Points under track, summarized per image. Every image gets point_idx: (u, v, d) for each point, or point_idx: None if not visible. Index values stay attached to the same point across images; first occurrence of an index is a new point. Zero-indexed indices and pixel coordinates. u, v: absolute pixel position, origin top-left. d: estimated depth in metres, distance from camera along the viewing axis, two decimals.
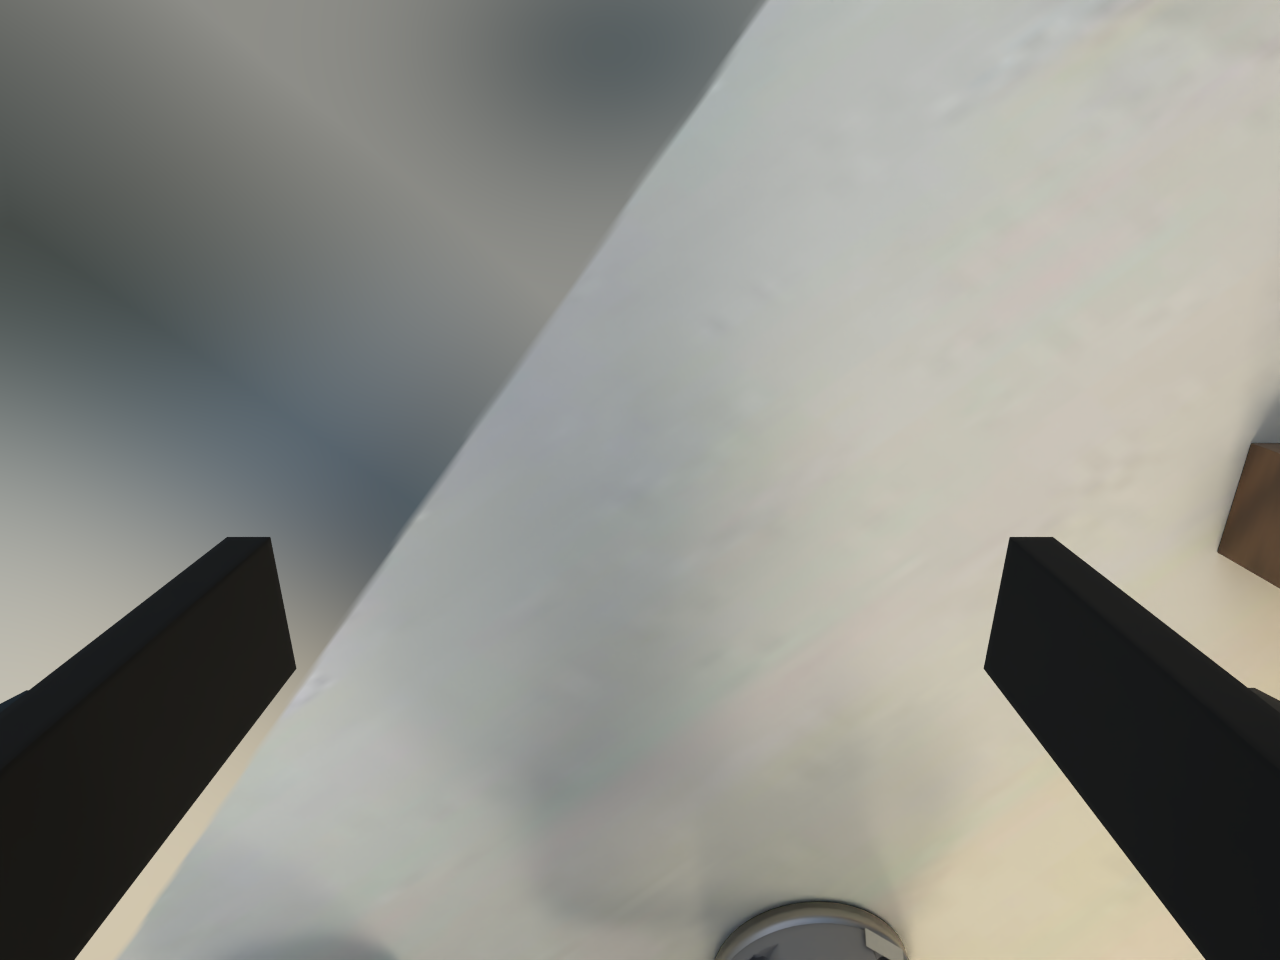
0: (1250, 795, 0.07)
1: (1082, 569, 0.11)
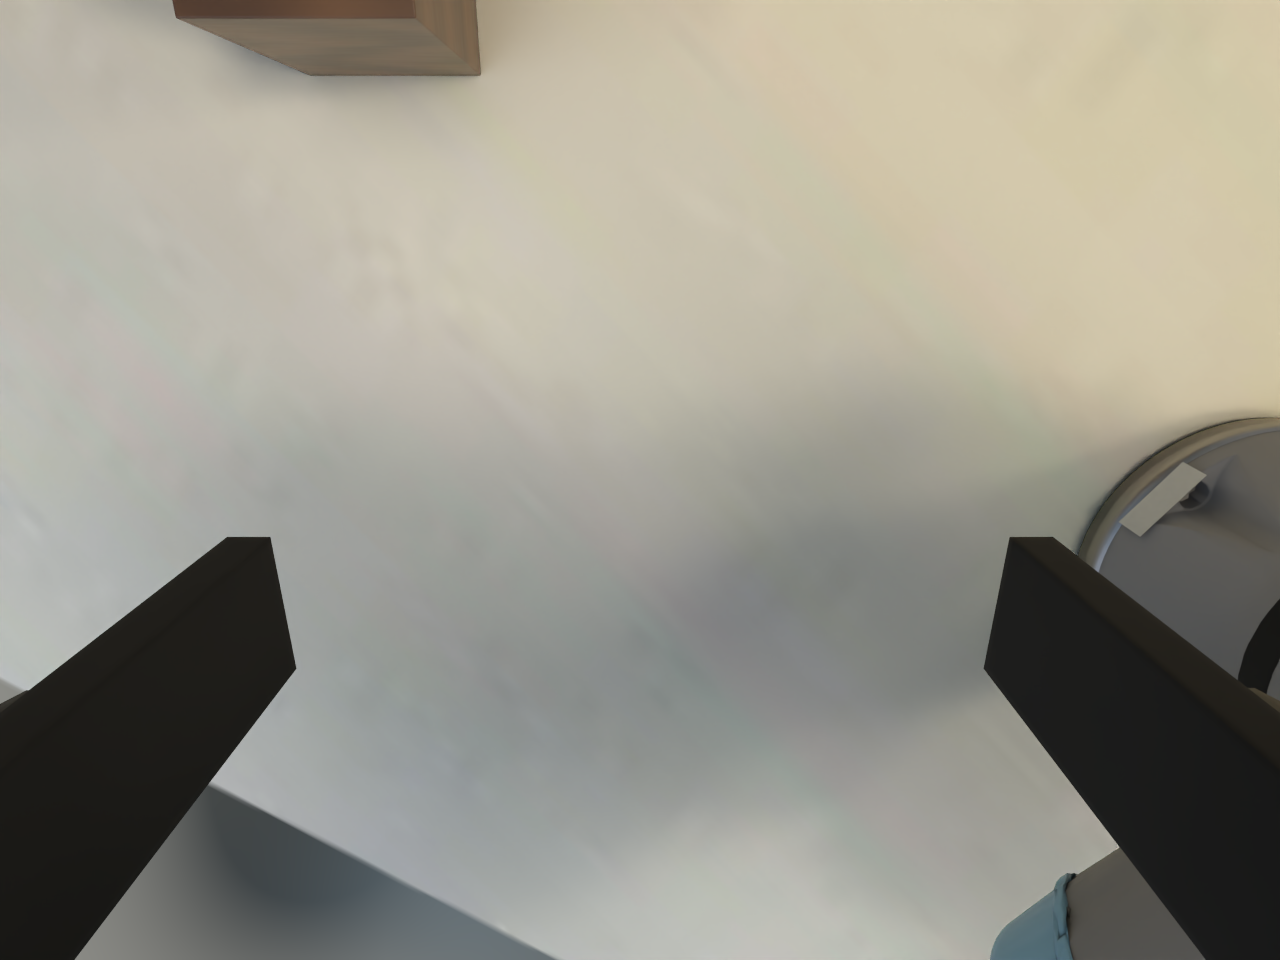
0: (1250, 795, 0.07)
1: (1081, 569, 0.11)
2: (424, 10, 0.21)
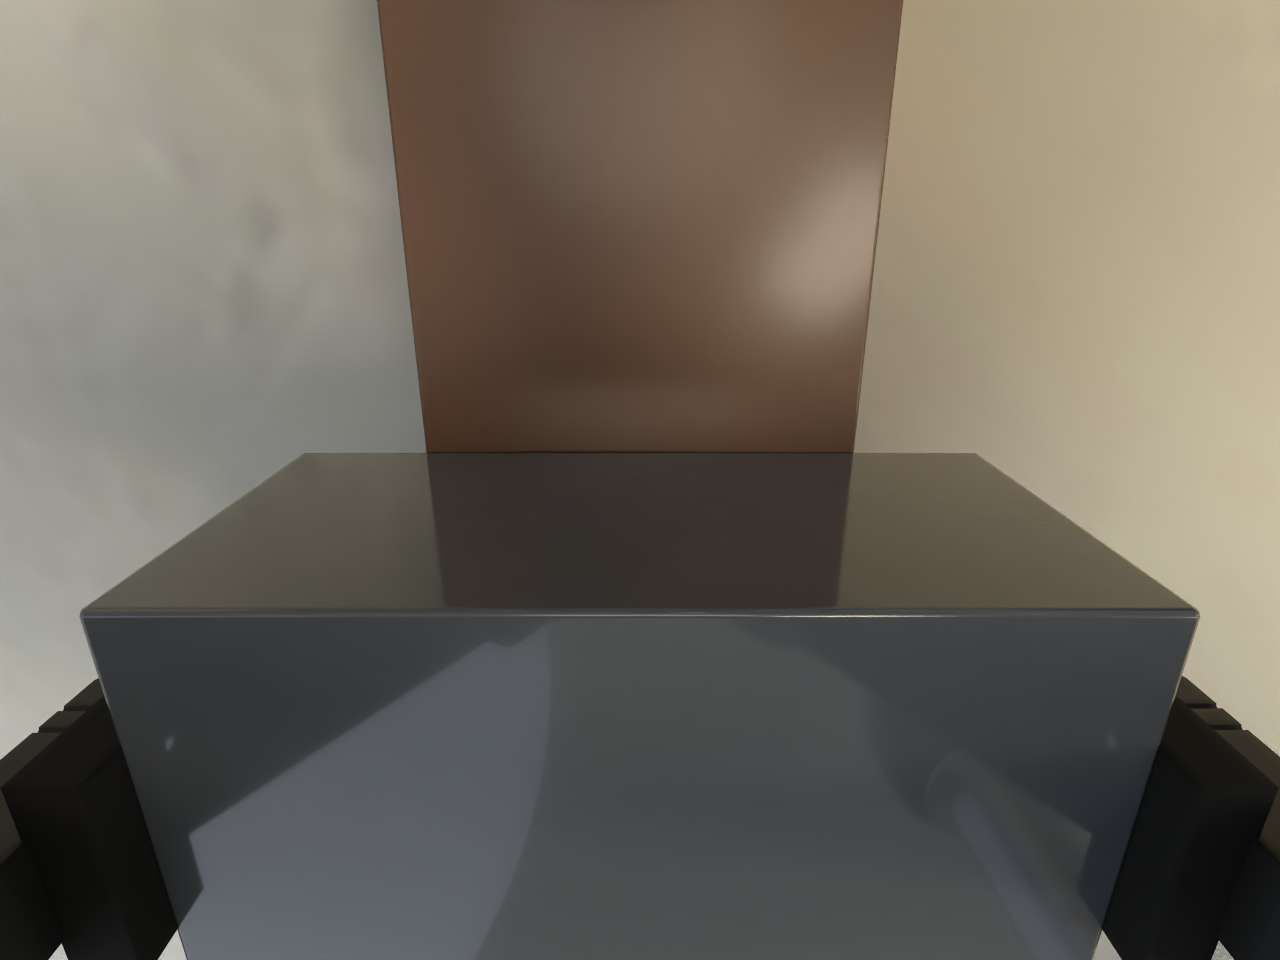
0: None
1: None
2: None
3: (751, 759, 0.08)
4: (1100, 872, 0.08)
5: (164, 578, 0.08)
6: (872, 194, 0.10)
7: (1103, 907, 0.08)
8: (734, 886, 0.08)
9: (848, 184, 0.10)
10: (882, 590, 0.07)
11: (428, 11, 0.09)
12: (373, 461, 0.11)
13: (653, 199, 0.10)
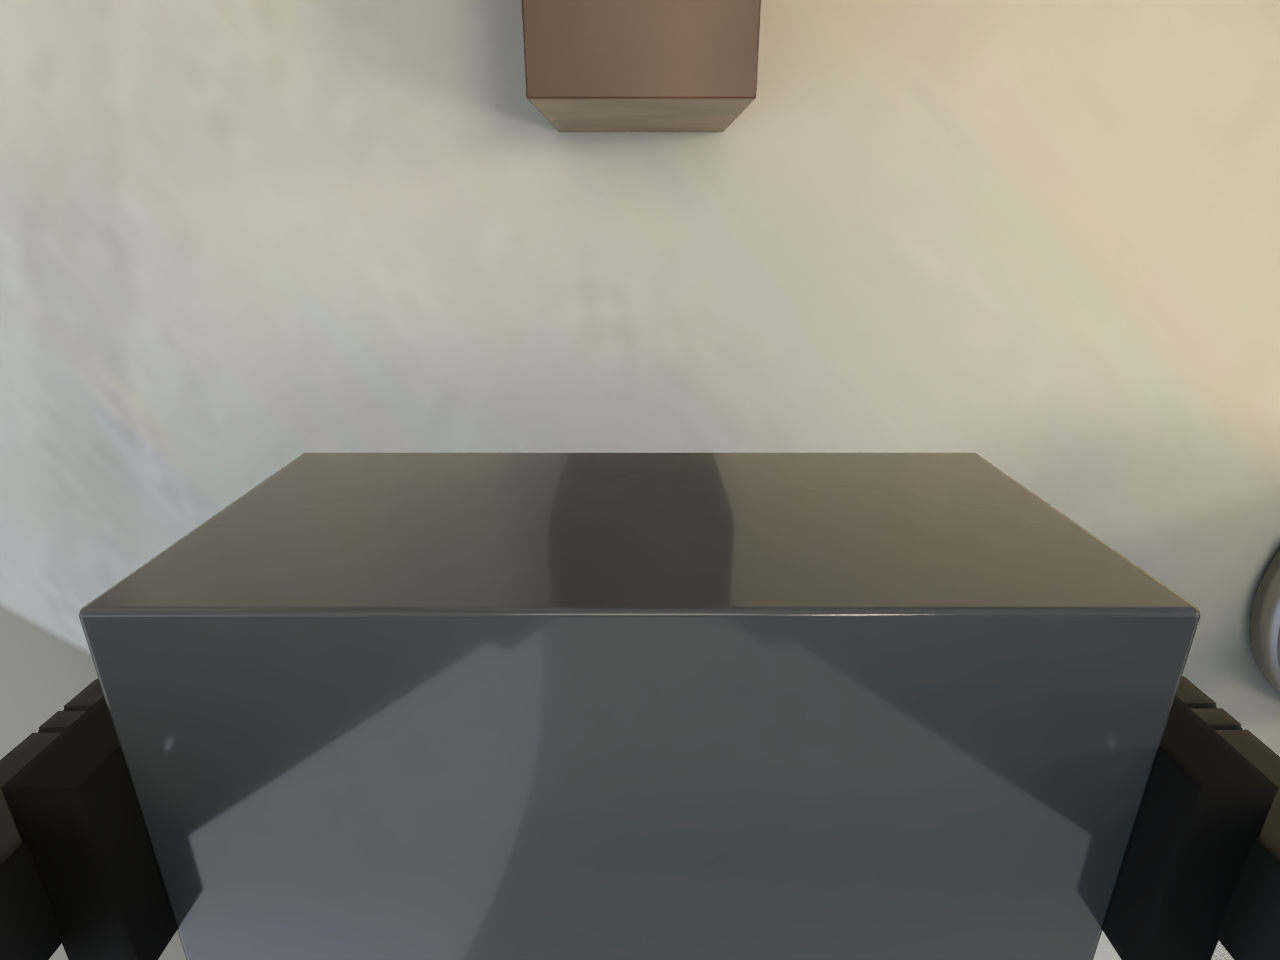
0: None
1: None
2: None
3: (752, 759, 0.08)
4: (1100, 872, 0.08)
5: (163, 577, 0.08)
6: None
7: (1103, 907, 0.08)
8: (735, 886, 0.08)
9: None
10: (882, 590, 0.07)
11: None
12: (373, 461, 0.11)
13: None
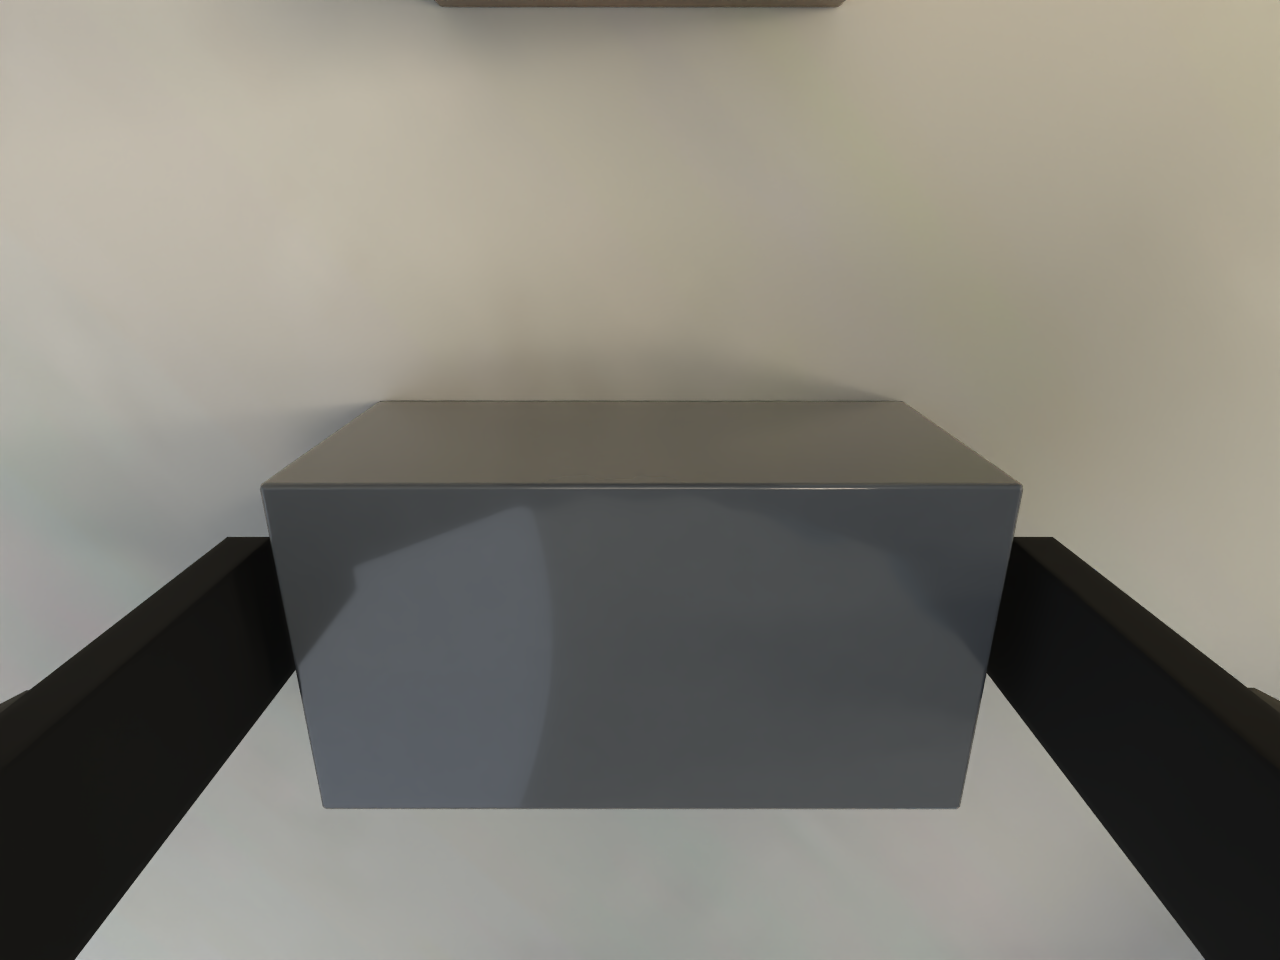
0: (1250, 795, 0.07)
1: (1082, 569, 0.11)
2: None
3: (719, 596, 0.11)
4: (969, 684, 0.11)
5: (309, 469, 0.11)
6: None
7: (974, 713, 0.12)
8: (709, 695, 0.11)
9: None
10: (808, 475, 0.11)
11: None
12: (435, 406, 0.14)
13: None
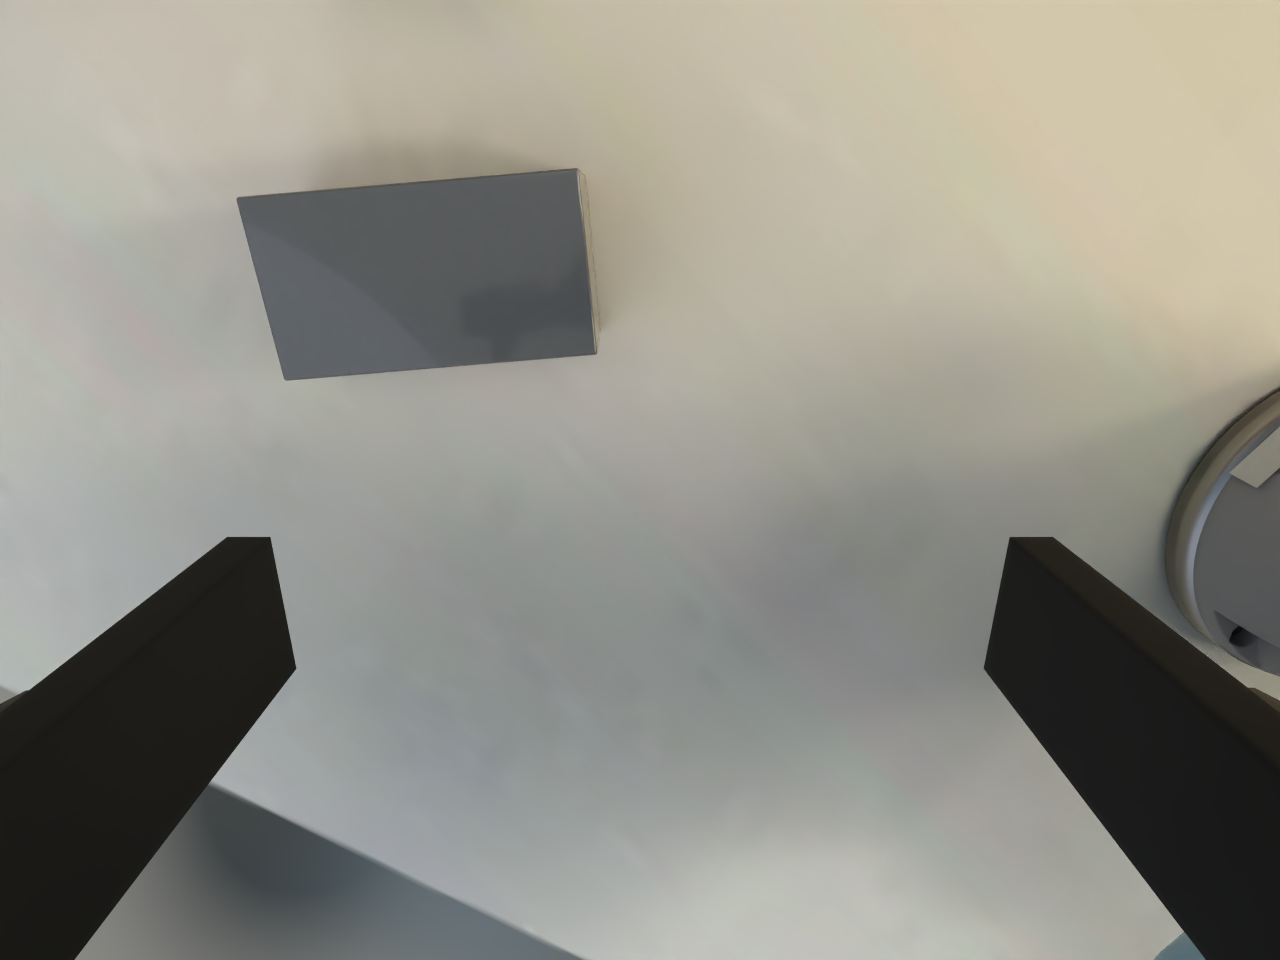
0: (1250, 795, 0.07)
1: (1082, 569, 0.11)
2: None
3: (453, 238, 0.23)
4: (581, 278, 0.24)
5: None
6: None
7: (589, 295, 0.24)
8: (459, 295, 0.24)
9: None
10: None
11: None
12: None
13: None
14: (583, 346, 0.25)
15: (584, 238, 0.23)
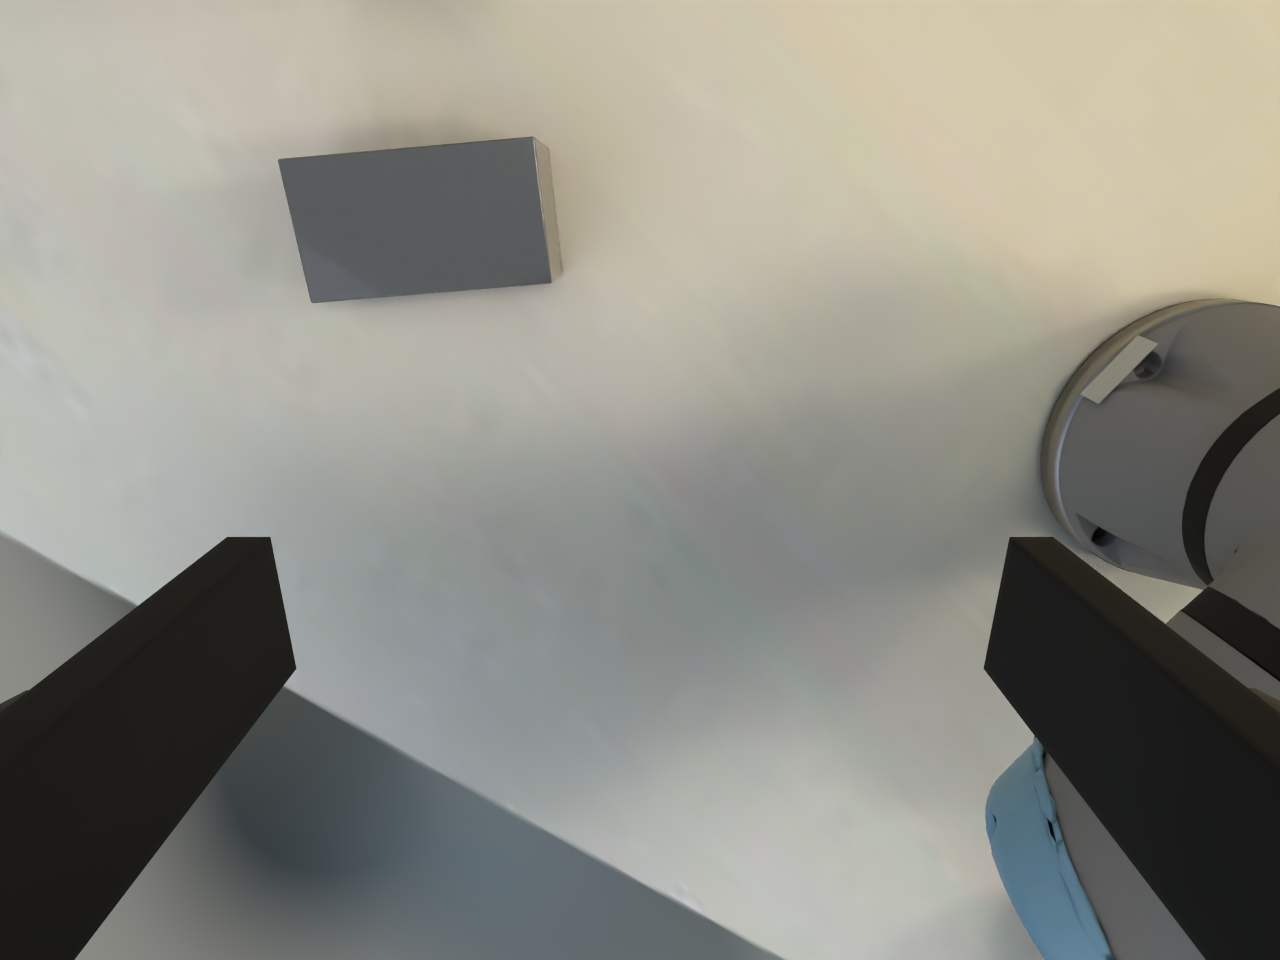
0: (1250, 795, 0.07)
1: (1082, 569, 0.11)
2: None
3: (440, 191, 0.31)
4: (538, 222, 0.31)
5: None
6: None
7: (544, 236, 0.31)
8: (445, 235, 0.31)
9: None
10: (465, 143, 0.30)
11: None
12: None
13: None
14: (540, 276, 0.32)
15: (539, 190, 0.31)
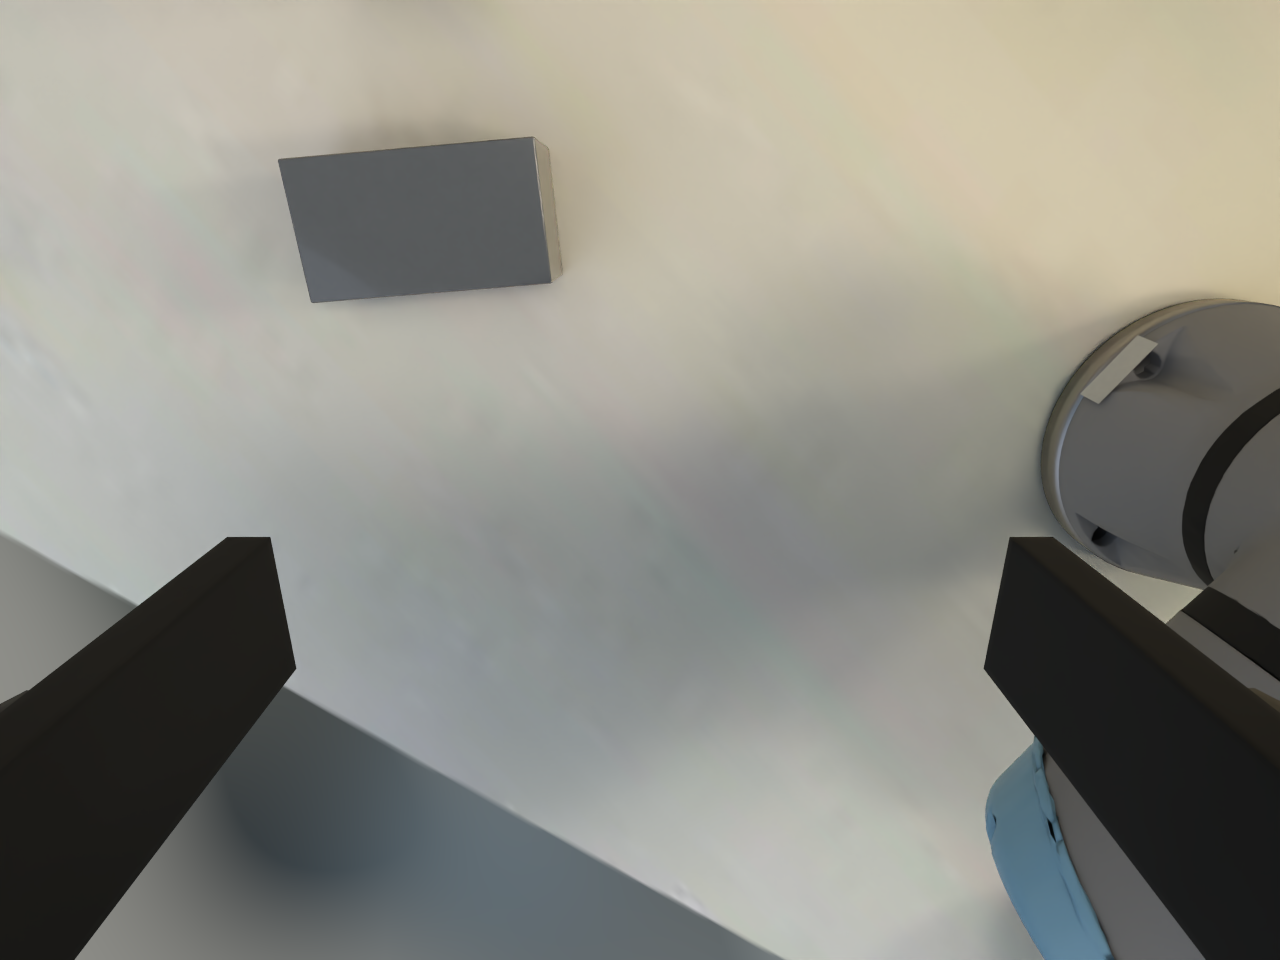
0: (1250, 795, 0.07)
1: (1082, 569, 0.11)
2: None
3: (440, 190, 0.31)
4: (538, 222, 0.31)
5: None
6: None
7: (544, 236, 0.31)
8: (445, 235, 0.31)
9: None
10: (465, 143, 0.30)
11: None
12: None
13: None
14: (540, 276, 0.32)
15: (539, 190, 0.31)
